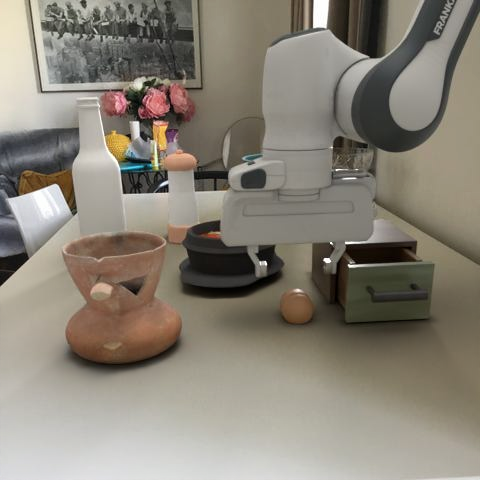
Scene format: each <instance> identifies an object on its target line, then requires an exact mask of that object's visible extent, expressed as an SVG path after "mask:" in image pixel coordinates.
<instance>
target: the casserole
mask: <svg viewBox="0 0 480 480" xmlns="http://www.w3.org/2000/svg"><path fill="white" fill-rule="evenodd" d="M220 223H221V219H218V220H209V221H205V222H200V224H197V225H194V226H192V227H190V228H189V229H188V230H187V234H186V237H185V239H184V240H183V241H182V243H181V245H182V247H184V248H185V250H186V253H187V257H186V258H185V259H183V260H182V261H181V262H180V263H179V264H178V269H179V271H180V273H181V275H180V276H181V278H180V279H181V281H182V282H183V283H185V284H186V285H191V286H194V287H202V288H212V289H227V288H228V289H231V288H241V287H246V286H248V285H251V284H253V283H255V282H256V281H258V280H260V279H263V278H264V277H256V274H255V264H254V262H253V261H252V259H251V257H250V256H249V254H248V252H247V246H226V245H225V244H224V243H223V242H222V240H221V236H220ZM276 246H277V245H258V253H255V254H256V256H257V257H258V259H259V261H266V264H267V270H266V271H267V277H269V276H271V275H274V274H276V273H277V272H279V271H280V270H282V268H283V267H285V266H284V265H285V262H284V260H283V259H282V257H280V256H279V255H278V254H277V252H276Z"/></svg>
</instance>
